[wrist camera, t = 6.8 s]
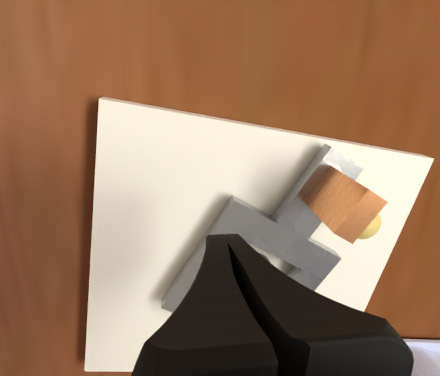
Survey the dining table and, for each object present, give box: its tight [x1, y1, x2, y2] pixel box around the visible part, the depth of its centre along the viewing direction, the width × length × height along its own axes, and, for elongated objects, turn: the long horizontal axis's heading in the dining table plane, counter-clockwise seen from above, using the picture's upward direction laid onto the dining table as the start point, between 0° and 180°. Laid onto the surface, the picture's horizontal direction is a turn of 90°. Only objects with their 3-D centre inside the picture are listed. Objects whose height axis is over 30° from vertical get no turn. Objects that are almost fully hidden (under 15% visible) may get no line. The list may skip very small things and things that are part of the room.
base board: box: [85, 97, 434, 372], centre depth 18 cm, size 19×18×5 cm
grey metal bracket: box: [161, 144, 388, 313], centre depth 16 cm, size 13×8×4 cm, turn 147°
